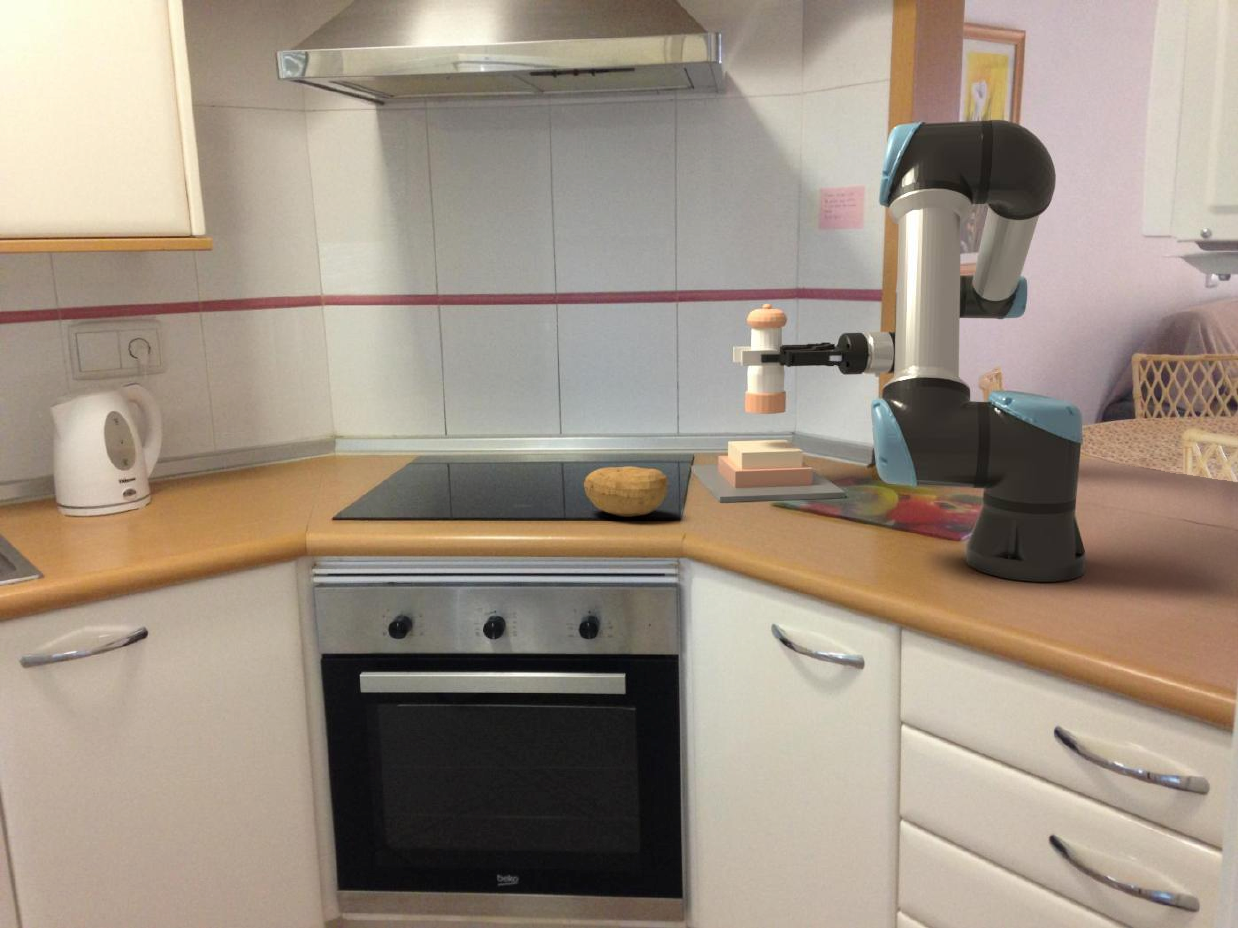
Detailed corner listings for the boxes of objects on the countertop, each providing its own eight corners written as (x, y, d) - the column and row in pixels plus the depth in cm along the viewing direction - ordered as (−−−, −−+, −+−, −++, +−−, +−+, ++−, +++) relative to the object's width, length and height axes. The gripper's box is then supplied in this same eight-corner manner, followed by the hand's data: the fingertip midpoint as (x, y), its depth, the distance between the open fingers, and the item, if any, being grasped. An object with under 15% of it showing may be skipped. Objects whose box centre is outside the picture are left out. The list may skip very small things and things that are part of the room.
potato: (596, 505, 176) (596, 459, 174) (675, 511, 171) (676, 464, 170) (574, 519, 167) (573, 470, 165) (657, 526, 162) (657, 476, 161)
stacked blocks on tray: (845, 497, 180) (846, 458, 178) (720, 502, 177) (720, 462, 176) (801, 466, 205) (802, 432, 203) (691, 470, 202) (691, 435, 201)
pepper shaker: (788, 408, 191) (790, 303, 187) (782, 414, 184) (784, 305, 180) (749, 407, 193) (750, 302, 189) (741, 413, 186) (743, 305, 182)
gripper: (880, 380, 180) (749, 384, 177) (845, 368, 198) (726, 371, 195) (882, 337, 179) (750, 340, 176) (846, 328, 196) (726, 331, 194)
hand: (738, 356), depth 186 cm, fingers closed on pepper shaker, 5 cm apart
